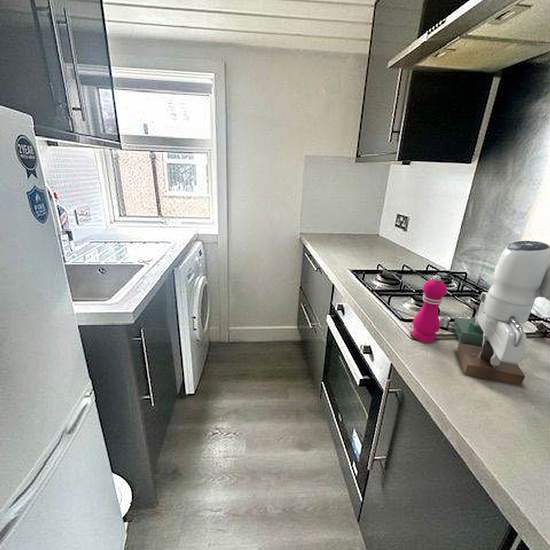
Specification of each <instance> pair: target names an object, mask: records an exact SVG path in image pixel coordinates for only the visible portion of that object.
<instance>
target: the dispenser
mask: <svg viewBox="0 0 550 550" xmlns="http://www.w3.org/2000/svg"><path fill="white" fill-rule="evenodd" d="M475 319H476V316H473V317H470V318H464V317H457V316H455V317H454V321H453V324H452V327H453V330H454V332H455V334H456V336H457V339H458V341H459V342H458V343H462V344H467V345H473V346H478V347H482V344H483V334H484V332H483V330H482V328H481V327H480V325H477V324H476V323H475Z"/></svg>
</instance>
